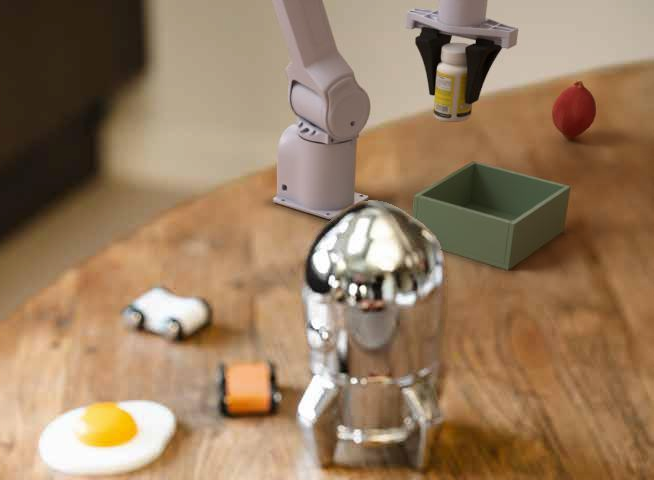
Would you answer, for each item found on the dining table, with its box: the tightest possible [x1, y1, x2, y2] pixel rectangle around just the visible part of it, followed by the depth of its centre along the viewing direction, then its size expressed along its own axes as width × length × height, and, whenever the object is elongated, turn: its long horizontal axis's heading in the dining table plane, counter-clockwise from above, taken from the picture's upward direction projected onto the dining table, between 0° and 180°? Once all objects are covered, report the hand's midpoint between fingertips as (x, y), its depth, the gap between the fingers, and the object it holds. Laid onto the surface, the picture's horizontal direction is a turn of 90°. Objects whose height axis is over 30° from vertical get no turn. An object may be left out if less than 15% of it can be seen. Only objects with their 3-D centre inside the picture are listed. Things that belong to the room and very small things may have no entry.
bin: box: [411, 160, 572, 271], centre depth 142 cm, size 13×13×6 cm
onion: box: [551, 79, 597, 140], centre depth 164 cm, size 6×6×8 cm
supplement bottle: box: [433, 42, 473, 123], centre depth 151 cm, size 5×5×8 cm
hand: (453, 97), depth 152 cm, fingers closed on supplement bottle, 5 cm apart
